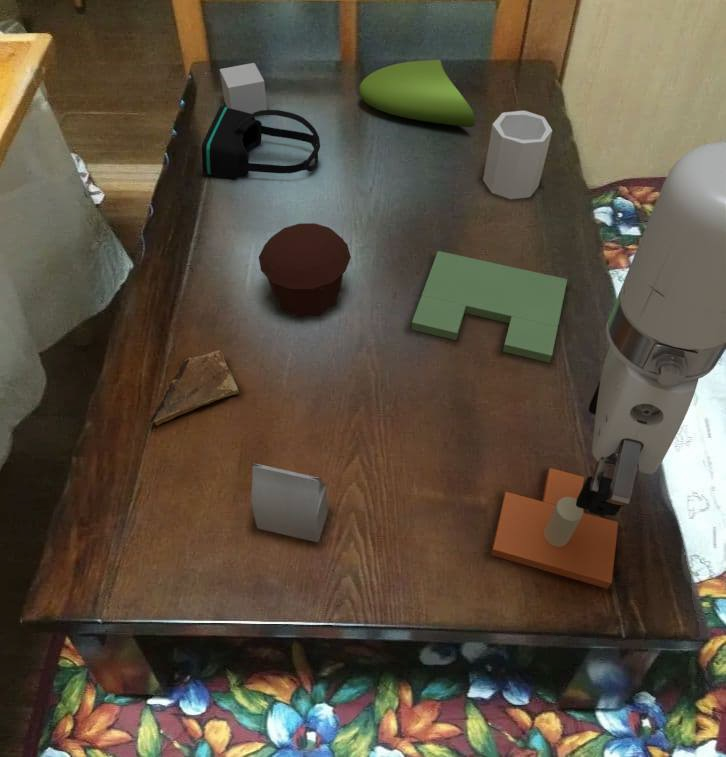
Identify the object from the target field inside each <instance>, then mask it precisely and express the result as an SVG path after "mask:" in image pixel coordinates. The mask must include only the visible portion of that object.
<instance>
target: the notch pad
mask: <svg viewBox="0 0 726 757" xmlns="http://www.w3.org/2000/svg"><path fill="white" fill-rule="evenodd" d="M567 282H568V278H564V277H559V276H556V275H555V276H554V275H550V274H545V273H540V272H537V271H531V270H527V269H522V268H518V267H513V266H510V265H504V264H500V263H495V262H490V261H486V260H482V259H478V258H477V259H476V258H472V257H468V256H463V255H458V254H455V253H449V252H445V251H442V250H441V251H440V250H437V252H436V255H435V258H434V259H433V263H432V265H431V269H430V270H429V274H428V276H427V280H426V282H425V284H424V288H423V290H422V293H421V295H420V298H419V301H418V305H417V307H416V310H415V312H414V315H413V318H412V320H411V325H410V326H411V327H410V329H411V331H415V332H418V333H419V332H420V333H423V334H428V335H431V336H436V337H440V338H443V339H449V340H453V341H457V339H458V336H459V333H460V330H461V327H462V323H463V321H464V317H465V315H466V314H467V315H470V316H475V317H479V318H484V319H489V320H493V321H497V322H501V323H505V324H506V323H507V324H509V325H508V327H507V328H508V329H507V332H506V336H505V340H504V343H503V348H502V352H503V353H507V354H511V355H515V356H519V357H523V358H527V359H532V360H535V361H540V362H543V363H549V364H550V363H551V360H552V358H553V354H554V348H555V343H556V339H557V334H558V329H559V324H560V320H561V313H562V309H563V304H564V300H565V294H566V288H567V285H568V283H567Z"/></svg>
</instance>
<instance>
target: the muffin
mask: <svg viewBox="0 0 726 757" xmlns="http://www.w3.org/2000/svg"><path fill="white" fill-rule="evenodd" d="M351 258H352V256H351V253H350V249H349V246H348V243H347V242H346V241H345V240H344V238H342V236H340V235H339V234H338V233H337V232H336V231H334V230H333V229H332V228H331V227H328V226H325V225H322V224H319V223H316V222H315V223H313V222H312V223H309V222H307V223H304V222H303V223H296V224H293V225H289V226H287V227H284V228H282V229H281V230H279V231H278V232H276V233H275V234H274V235H272V236H271V237H270V238H269V239H268V240H267V241H266V242H265V243H264V246H263V248H262V250H261V252H260V254H259V255H258V263H259V267H260V271H261V273H263V275H264V276H265V277H266V278H267V280H268V283H269V287H270V289H271V293H272V296H273V297H274V299H275V300H276V302H277V304H278V306H279V308H280V311H282V312H286V313H289V314H291V315H293V316H294V317H297V318H299V319H300V318H305V317H320V316H322V315H323V314H324V313H326V312H327V311H328V310H329V309H332V308H333V307H336V305H337V299H338V296H339V294H340V291H341V286H342V283H343V276H344V274H345V273H346V271H347V268H348V267H349V264H350V261H351Z"/></svg>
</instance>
